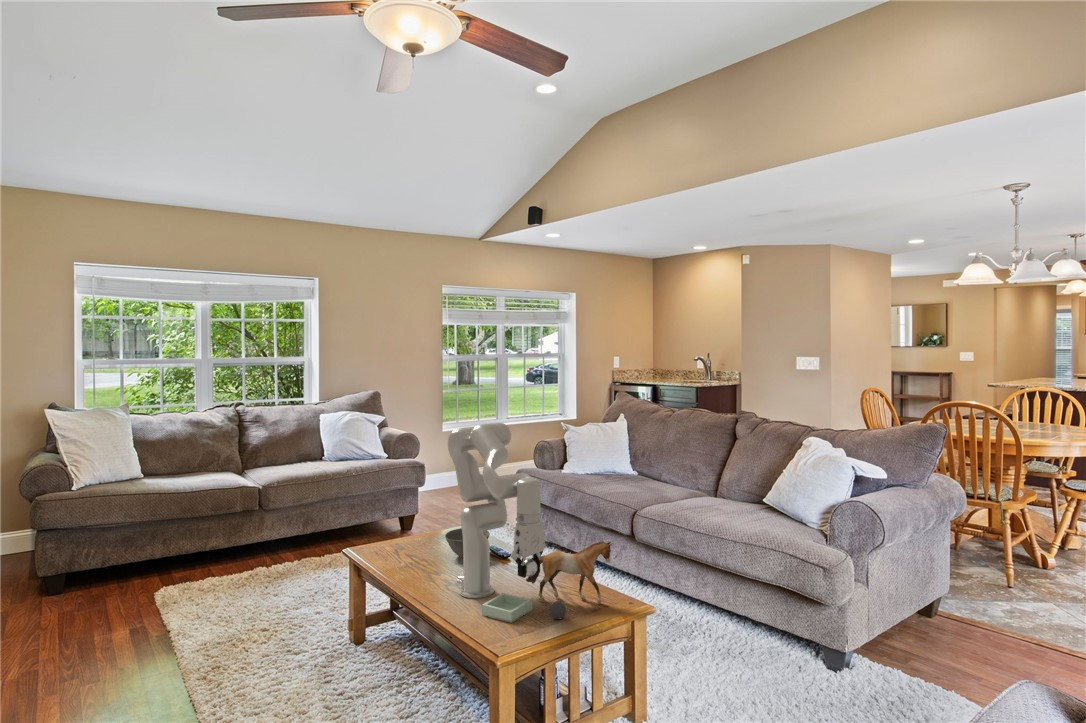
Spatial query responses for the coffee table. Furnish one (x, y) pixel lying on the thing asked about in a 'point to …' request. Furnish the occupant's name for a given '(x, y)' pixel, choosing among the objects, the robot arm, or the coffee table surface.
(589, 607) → the coffee table surface
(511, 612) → the tray
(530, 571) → the steel ball
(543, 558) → the horse figurine
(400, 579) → the coffee table surface
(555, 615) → the rubber ball
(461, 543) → the bowl
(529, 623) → the coffee table surface
